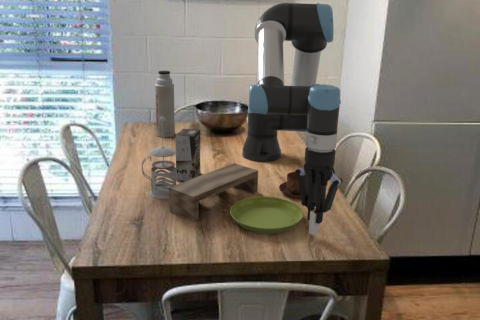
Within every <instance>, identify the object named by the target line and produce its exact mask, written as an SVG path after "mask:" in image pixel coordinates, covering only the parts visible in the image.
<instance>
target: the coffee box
mask: <svg viewBox="0 0 480 320" xmlns="http://www.w3.org/2000/svg"><path fill="white" fill-rule="evenodd" d="M175 151H176V153H175V168H176V181H180V182H181V181H183V182H185V181H188V180H190V179H193V178H196V177H198V176H200V174H201V129H198V128H182V129H181V130H180V131H178V133H175Z"/></svg>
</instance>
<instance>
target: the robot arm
mask: <svg viewBox="0 0 480 320" xmlns="http://www.w3.org/2000/svg"><path fill="white" fill-rule="evenodd" d="M334 31H335V30H334V13H333V8H332V6H331V5H330V4H328V3H327V4H326V3H319V2H317V3H301V2H300V3H299V2H298V3H297V2H280V3H277V4H274V5H272V6H271V7H269V8H268V9H266V10H265V11H264V12H263V13H262V14H261V16H260V17H259V18H258V19H257V22H256V24H255V28H254V39H255V41H256V43H257V53H256V54H257V58H256V59H257V61H256V62H257V63H256V83H255V84H251V85H250V86H249V93H248V106H247V107H248V108H247V131H246V133H247V136H246V138H245V141H244V144H243V147H242V150H241V151H242V153H241V154H242V157H244V158H245V159H247V160H250V161H255V162H271V161H272V162H273V161H276V160H279V159H280V158H281V155H282V150H281V146H280V141H279V139H278V131H282V132H284V131H285V132H306V134H305V135H306V136H305V150H304V164H303V166H301V167H299V168H297V169H295V170H294V172H295V173H296V175H297V178H298V183H299V190H300V197H301V198H300V202H301V206H303V207H305V208H307V216H306V219H307V221H308V234H309V235H312V236H315V235H316V234H318V233H319V231H320V224H321V223H323V218H324V217H323V216H324V214H325V213H327V212H328V211H330V210H331V209H332V205H333V203H334V200H335V196H336V194H337V192H338V188H339V186H340V185H342V183H344V182H343V179H342V178H341V177H340V178H339V177H338V176H337V175H336V174H335V173H336V171H335V169H334V168H335V167H334V165H335V161H336V160H335V159H336V152H337V151H336V150H335V149H336V148H337V140H338V139H337V138H338V128H339V127H338V126H339V125H338V124H339V114H340V108H341V107H340V106H341V104H342V103H341V88H339V87H338V86H335V85H331V84H319V83H317V79H318V73H319V66H320V59H321V54H322V52H323V51H324V50H325V49H326V48H327V45H328V43H332V42H333V40H334V34H335V33H334ZM284 42H291V45H292V47H293V48H294V50H295V51H294V58H293V59H294V60H293V66H292V67H293V68H292V75H291V76H292V77H291V84H290V85H285V68H284V67H285V66H284V65H285V64H284V63H285V62H284ZM306 175H307V176H306ZM307 177H308V182H307ZM329 181H330V182H329ZM328 182H329V184H330V185H329V188H328V190H327V186H328ZM308 185H309V188H308Z"/></svg>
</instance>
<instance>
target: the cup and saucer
mask: <svg viewBox="0 0 480 320" xmlns="http://www.w3.org/2000/svg"><path fill="white" fill-rule="evenodd" d="M306 176H307V175H306ZM307 182H308V177H307ZM278 187H279V191H280V192H281V193H282V194H284V195H286V196H287V197H291V198H300V199H301V197H300V190H299V183H298V178H297V175H296V173H295V171H292V172H288V173H287V174H286V181H285V182H282V183H281V184H280V185H279V186H278ZM308 188H309V185H308Z"/></svg>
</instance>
